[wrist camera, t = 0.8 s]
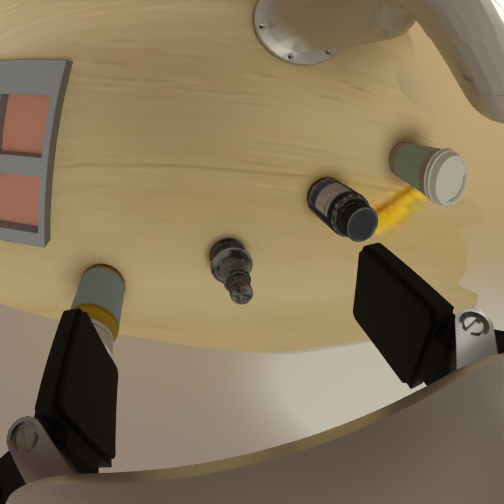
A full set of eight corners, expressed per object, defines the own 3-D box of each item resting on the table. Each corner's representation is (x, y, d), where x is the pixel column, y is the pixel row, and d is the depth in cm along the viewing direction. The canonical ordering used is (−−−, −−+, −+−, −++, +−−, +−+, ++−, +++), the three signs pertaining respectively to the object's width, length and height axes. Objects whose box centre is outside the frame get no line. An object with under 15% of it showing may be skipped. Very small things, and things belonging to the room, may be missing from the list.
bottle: (86, 301, 44) (68, 371, 31) (79, 263, 41) (52, 330, 28) (127, 301, 46) (119, 373, 33) (123, 263, 43) (109, 332, 30)
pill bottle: (346, 204, 47) (386, 234, 38) (313, 221, 47) (347, 255, 38) (336, 170, 44) (378, 193, 35) (300, 186, 44) (336, 215, 35)
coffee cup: (388, 191, 48) (436, 219, 38) (377, 144, 43) (429, 164, 33) (423, 172, 48) (471, 195, 38) (414, 127, 43) (467, 143, 33)
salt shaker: (214, 276, 48) (228, 328, 37) (202, 243, 45) (213, 292, 34) (250, 264, 48) (273, 312, 38) (241, 231, 45) (263, 275, 35)
